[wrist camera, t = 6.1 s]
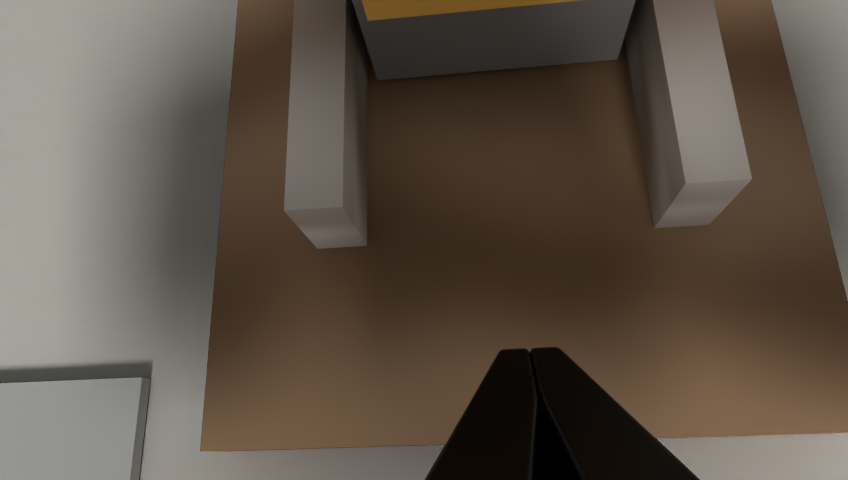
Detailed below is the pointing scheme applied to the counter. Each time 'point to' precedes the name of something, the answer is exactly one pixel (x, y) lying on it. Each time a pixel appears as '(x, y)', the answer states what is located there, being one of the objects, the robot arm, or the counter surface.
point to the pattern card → (73, 429)
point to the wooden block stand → (519, 234)
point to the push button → (488, 34)
